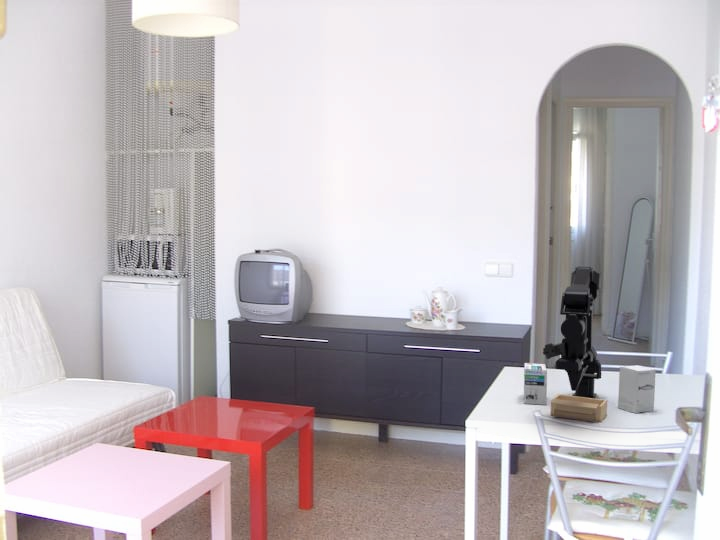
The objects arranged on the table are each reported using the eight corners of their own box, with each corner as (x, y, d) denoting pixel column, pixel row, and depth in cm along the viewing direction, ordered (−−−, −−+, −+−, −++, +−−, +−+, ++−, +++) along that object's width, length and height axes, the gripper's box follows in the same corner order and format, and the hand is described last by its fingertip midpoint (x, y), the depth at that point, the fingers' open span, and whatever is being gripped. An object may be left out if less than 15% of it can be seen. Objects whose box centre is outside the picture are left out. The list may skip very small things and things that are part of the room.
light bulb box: (546, 405, 229) (547, 370, 229) (523, 404, 231) (524, 368, 230) (545, 397, 240) (546, 363, 239) (523, 396, 241) (524, 362, 240)
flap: (550, 402, 214) (551, 417, 216) (596, 408, 208) (596, 423, 210) (553, 398, 217) (553, 413, 218) (598, 404, 211) (598, 419, 212)
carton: (558, 409, 225) (558, 394, 225) (606, 415, 218) (607, 400, 218) (550, 415, 218) (550, 399, 217) (600, 422, 211) (601, 406, 211)
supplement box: (635, 413, 221) (637, 370, 220) (617, 407, 228) (618, 366, 227) (654, 411, 224) (656, 369, 223) (636, 405, 230) (637, 364, 230)
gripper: (555, 328, 222) (553, 381, 223) (537, 336, 206) (535, 393, 207) (594, 331, 217) (592, 385, 218) (578, 340, 200) (577, 398, 202)
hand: (573, 390), depth 211 cm, fingers closed
